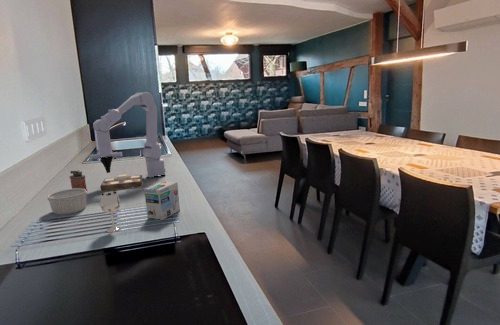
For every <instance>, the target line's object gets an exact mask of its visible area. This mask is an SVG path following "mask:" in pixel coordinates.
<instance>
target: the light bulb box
mask: <svg viewBox="0 0 500 325" xmlns="http://www.w3.org/2000/svg"><path fill="white" fill-rule="evenodd" d="M143 190H144V191H143V192H144V198H145V206H146V207H145V208H146V216H147V219H150V218H155V219H154V220H158V219H160V220H161V221H164V220H166V219H168V218H169V217H171V216H172V214H173V215H174V213H175V214H176V213H178V212H180V211H181V209H180V208H181V206H180V205H181V204H180V197H179V186H178V182H175V181H165V180H164V181H161V182H158V183H155V184H152V185H150V186H148V187H145V188H143ZM170 215H171V216H170ZM168 216H169V217H168ZM163 219H164V220H163Z"/></svg>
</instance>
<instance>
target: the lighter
mask: <svg viewBox="0 0 500 325" xmlns="http://www.w3.org/2000/svg"><path fill="white" fill-rule="evenodd" d="M69 180H70V185H71V189H75V188H82V189H86V191H87V192H88V189H87V182H86V175H85V174H84V175H83V172H82V171H80V170H70V175H69Z"/></svg>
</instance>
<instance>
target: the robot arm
mask: <svg viewBox="0 0 500 325" xmlns="http://www.w3.org/2000/svg"><path fill="white" fill-rule="evenodd" d="M134 106H139V107H141V108H142V109H143V110H144V111H146V112H145V113H146V117H145V118H146V121H145V122H146V126H145V127H146V129H145V130H146V134H145V135H146V138H145V139H146V140H145V143H144V144H143V146H144V147H143V149H142V156H143V157H144V158H145V164H146V172H147V174H146V178H147V177H150V178H155V177H154V176H158V175H165V176H166V168H165V162H164V161H165V160H164V158H161V157H162V154H163V153H162V149H161V145H160V143H159V142H158V106H157V104H156V102H155V98H154V96H153V95H152V94H151V93H150V92H148V91H144V92H135V93H134V94H133V95H131V96H130V97H129V98H128V99H126V100H125V101H124V102H123V103H122V104H121V105H120V106H118V108H116V109H115V108H112V109H108V110H107V113H105V114H104V115H101V116H100V119H96V120H95V121H94V123H93V125H92V128H93V130H94V131H95V133H96V141H97V146H98V153H96V154H94V153H93V154H90V155H88V158H89V160H96V159H99V160H100V162H101V164H102V165H103V167H104V168H105V171H106V173H107V174H110V173H111V166H112V161H113V159H114V158H118V157H123V152H122V151H119V152H118V151H115V152H114V151H113V150H112V141H111V136H110V135H111V133H110V130H111V128H112V127H113V125H114V124H116V123H117V122H118V121H120V120H121V119H122V115H123V114H124V113H126V112H127V111H129V110H130V109H131V108H132V107H134Z"/></svg>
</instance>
